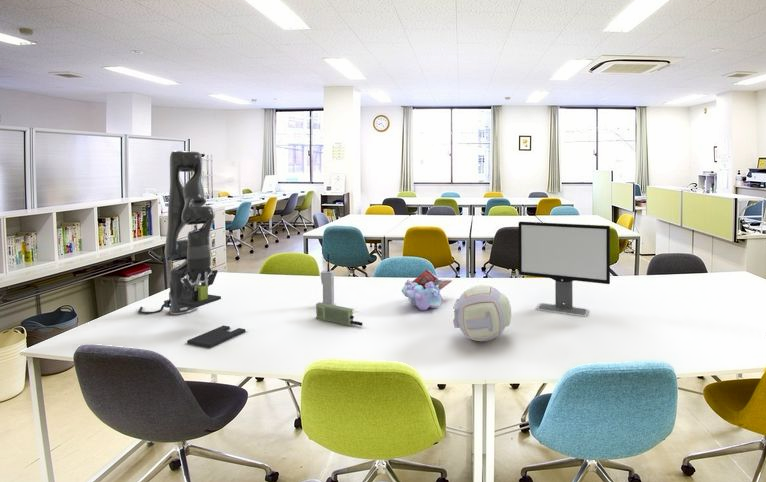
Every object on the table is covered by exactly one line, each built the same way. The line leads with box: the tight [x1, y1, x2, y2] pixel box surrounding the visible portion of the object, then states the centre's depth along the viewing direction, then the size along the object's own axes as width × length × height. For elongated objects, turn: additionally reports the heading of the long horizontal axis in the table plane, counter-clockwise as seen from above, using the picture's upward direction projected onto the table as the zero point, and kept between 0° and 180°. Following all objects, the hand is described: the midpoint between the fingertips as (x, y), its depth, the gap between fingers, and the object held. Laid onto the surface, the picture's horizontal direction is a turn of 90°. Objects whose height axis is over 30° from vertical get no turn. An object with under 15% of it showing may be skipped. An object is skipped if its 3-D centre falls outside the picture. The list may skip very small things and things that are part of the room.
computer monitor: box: [518, 221, 611, 317], centre depth 168 cm, size 41×8×40 cm, turn 68°
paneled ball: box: [452, 284, 512, 342], centre depth 140 cm, size 21×22×20 cm
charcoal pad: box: [186, 324, 246, 349], centre depth 142 cm, size 12×14×1 cm
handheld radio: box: [315, 302, 363, 327], centre depth 156 cm, size 7×3×25 cm
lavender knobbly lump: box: [401, 269, 454, 311], centre depth 176 cm, size 20×22×18 cm
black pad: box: [178, 284, 222, 309], centre depth 148 cm, size 10×13×6 cm
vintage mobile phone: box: [320, 253, 335, 305], centre depth 174 cm, size 4×5×25 cm
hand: (199, 298), depth 148 cm, fingers closed on black pad, 2 cm apart
